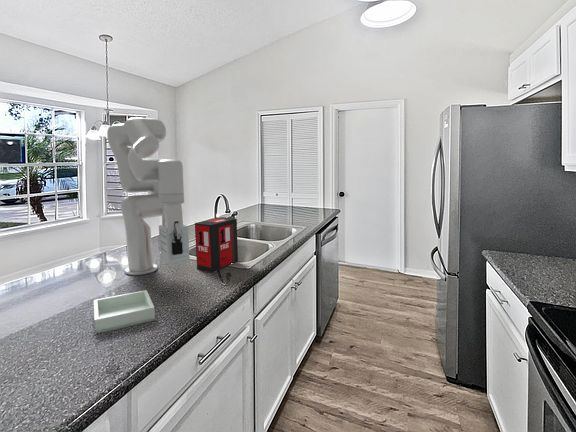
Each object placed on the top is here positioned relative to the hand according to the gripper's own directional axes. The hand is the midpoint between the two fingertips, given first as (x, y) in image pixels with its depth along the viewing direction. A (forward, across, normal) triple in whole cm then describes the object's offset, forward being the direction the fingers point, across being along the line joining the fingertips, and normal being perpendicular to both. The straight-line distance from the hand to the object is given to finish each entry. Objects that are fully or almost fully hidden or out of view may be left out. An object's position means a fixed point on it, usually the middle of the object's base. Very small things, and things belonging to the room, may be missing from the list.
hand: (174, 250), depth 111 cm
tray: (+16, +7, -17) cm, 24 cm away
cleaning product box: (+17, -25, +23) cm, 38 cm away
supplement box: (+4, 0, 0) cm, 4 cm away
